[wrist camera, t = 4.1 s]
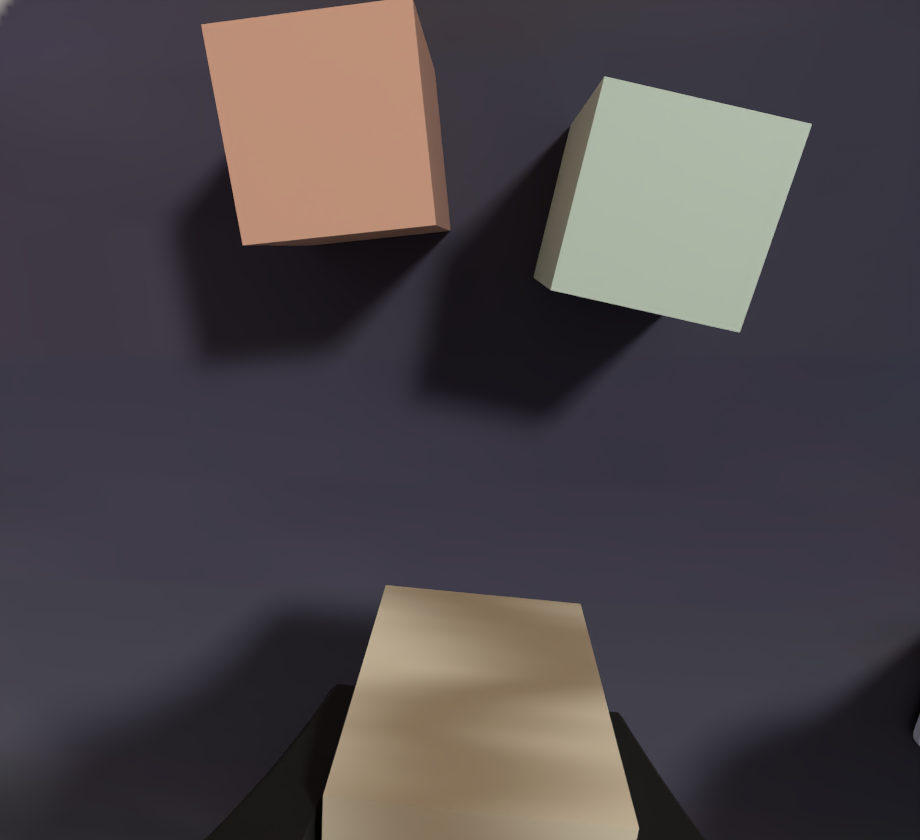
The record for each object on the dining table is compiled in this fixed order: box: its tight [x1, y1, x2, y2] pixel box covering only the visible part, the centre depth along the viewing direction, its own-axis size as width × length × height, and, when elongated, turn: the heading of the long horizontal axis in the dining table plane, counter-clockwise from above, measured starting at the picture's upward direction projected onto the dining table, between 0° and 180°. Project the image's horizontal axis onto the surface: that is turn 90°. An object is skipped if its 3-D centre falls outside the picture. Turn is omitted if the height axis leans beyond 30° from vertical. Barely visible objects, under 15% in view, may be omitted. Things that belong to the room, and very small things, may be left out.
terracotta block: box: [201, 0, 450, 246], centre depth 14 cm, size 4×4×5 cm
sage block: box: [533, 76, 812, 332], centre depth 14 cm, size 4×4×5 cm
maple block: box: [322, 585, 639, 840], centre depth 11 cm, size 4×4×5 cm
